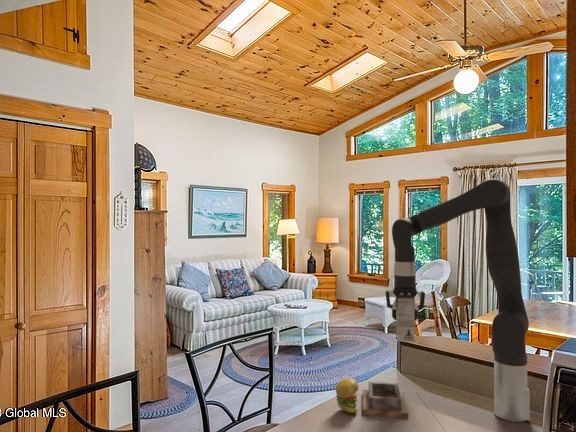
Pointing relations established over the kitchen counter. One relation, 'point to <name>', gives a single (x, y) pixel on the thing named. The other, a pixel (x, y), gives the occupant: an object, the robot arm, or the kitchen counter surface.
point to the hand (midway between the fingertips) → (405, 319)
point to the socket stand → (384, 400)
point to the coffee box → (405, 318)
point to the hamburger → (347, 394)
